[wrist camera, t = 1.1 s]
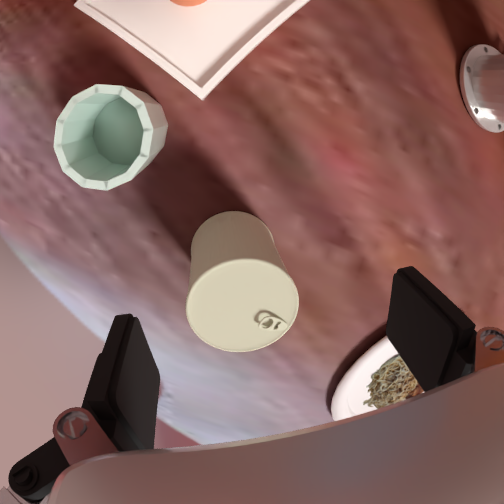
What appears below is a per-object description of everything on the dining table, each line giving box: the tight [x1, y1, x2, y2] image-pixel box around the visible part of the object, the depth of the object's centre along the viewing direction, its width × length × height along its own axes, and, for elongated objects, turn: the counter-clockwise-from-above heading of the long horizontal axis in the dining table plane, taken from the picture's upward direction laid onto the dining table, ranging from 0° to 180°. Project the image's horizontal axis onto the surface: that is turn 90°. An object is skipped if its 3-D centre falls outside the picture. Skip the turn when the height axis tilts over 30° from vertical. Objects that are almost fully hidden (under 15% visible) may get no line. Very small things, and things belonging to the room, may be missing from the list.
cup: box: [54, 84, 168, 190], centre depth 25 cm, size 8×8×8 cm
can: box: [185, 211, 299, 352], centre depth 30 cm, size 9×9×12 cm
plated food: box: [331, 336, 424, 421], centre depth 49 cm, size 30×30×3 cm
